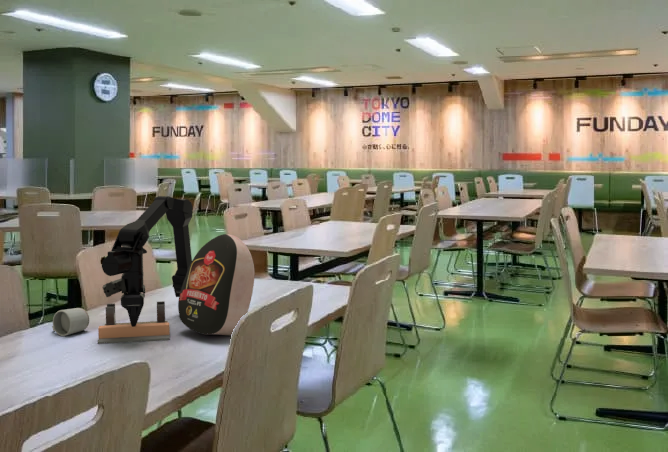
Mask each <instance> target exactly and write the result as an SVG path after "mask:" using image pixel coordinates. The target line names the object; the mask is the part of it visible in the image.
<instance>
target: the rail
mask: <svg viewBox="0 0 668 452" xmlns="http://www.w3.org/2000/svg"><path fill="white" fill-rule="evenodd" d="M169 329H170V322H168V323H148V324H136V326H135V327H132V326H131V324H127V325H107V326H104V325H98V333H97V334H98V339H100V338H118V337H137V336H156V335H170V334H171V333H170V331H169Z"/></svg>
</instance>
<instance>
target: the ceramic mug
mask: <svg viewBox="0 0 668 452" xmlns="http://www.w3.org/2000/svg"><path fill="white" fill-rule="evenodd" d="M89 324H90V315H89V313H88V312H87V310H85V309H84V308H82V307H76V308H75V307H74V308H67V309H60V310H58V311H57V312H55V313H54V315H53V318H52V326H51V327H52V330H53V332H55V333H56V334H57V335H58V336H61V337H65V336H70V335H73V334H76V333H81V332H82V331H85V330H86V329H87V328H88V326H89Z"/></svg>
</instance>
